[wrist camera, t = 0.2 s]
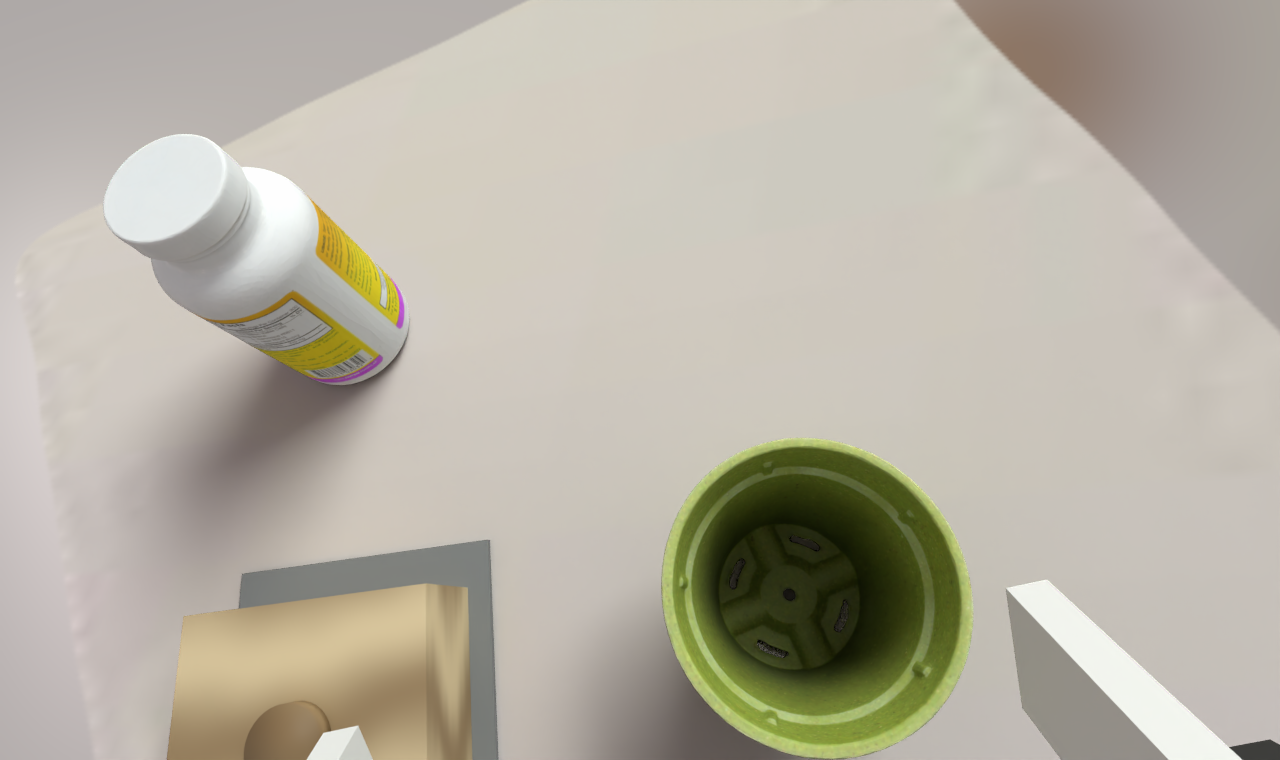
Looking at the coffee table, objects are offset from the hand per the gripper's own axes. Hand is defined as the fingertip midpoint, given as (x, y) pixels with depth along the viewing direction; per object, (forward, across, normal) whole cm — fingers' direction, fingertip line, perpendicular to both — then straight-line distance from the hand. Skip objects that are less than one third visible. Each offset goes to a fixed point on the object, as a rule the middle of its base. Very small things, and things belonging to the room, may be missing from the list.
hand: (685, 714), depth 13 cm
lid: (+12, +16, +8) cm, 22 cm away
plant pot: (+14, -3, +8) cm, 17 cm away
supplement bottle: (+24, +15, -8) cm, 29 cm away
